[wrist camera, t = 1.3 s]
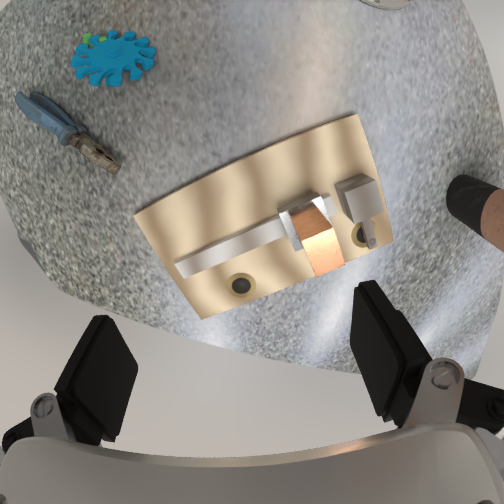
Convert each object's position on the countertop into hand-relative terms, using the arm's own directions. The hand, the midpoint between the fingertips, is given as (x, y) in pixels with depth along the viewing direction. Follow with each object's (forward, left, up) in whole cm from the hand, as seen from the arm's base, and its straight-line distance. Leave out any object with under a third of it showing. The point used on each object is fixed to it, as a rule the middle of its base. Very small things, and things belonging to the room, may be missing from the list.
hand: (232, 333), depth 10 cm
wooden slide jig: (-1, +7, -26) cm, 27 cm away
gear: (+6, -21, -26) cm, 34 cm away
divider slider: (-5, +9, -24) cm, 26 cm away
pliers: (+16, -17, -26) cm, 35 cm away
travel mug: (-31, +15, -26) cm, 43 cm away
